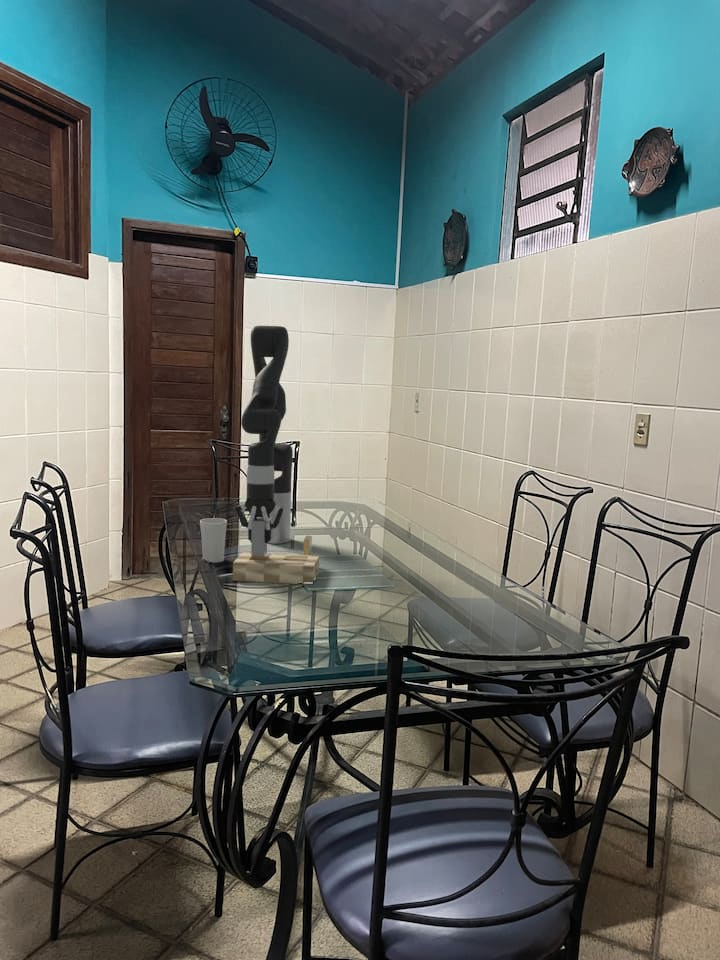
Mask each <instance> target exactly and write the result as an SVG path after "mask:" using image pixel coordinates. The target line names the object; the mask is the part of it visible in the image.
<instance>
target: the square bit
mask: <svg viewBox="0 0 720 960" xmlns="http://www.w3.org/2000/svg"><path fill="white" fill-rule="evenodd" d="M265 537H266V522H265V520H264V519H263V518H261V517H257V518H255V519H254V520H252V524H251V542H250V543H251V545H250V546H251V547H250V548H251V549H250V550H251V551H250V552H251V556H263V557H264V556H265V555H266V553H268V543H265Z"/></svg>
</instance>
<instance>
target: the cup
mask: <svg viewBox="0 0 720 960" xmlns="http://www.w3.org/2000/svg"><path fill="white" fill-rule="evenodd" d="M227 525H228V520H227V519H225V518H218V517H213V518H211V517H210V518H203V519H200V520H199V526H200V528H199V529H200V535H201V536H200V537H201V552H202V560H203V559H205V560H207V561H209V562H208V563H210V562H212V563H214V564H215V563H221V562H224V561H225V549H226V548H225V547H226V536H227V535H226V533H227Z"/></svg>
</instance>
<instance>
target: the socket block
mask: <svg viewBox="0 0 720 960" xmlns="http://www.w3.org/2000/svg"><path fill="white" fill-rule="evenodd" d="M319 566H320V555H312V554H311V555H304V554H291V553H274V552H273V553H271V552H267V553H266V555H265V556H264V557H263V556H251V551H250V552H249V551H243V552H242V553H241V554H240V555H238V557H237V558H236V559H235V560H234V561H233V562H232V581H239V582H257V583H259V582H260V583H275V584H276V583H279V584H293V585H294V584H295V585H299V584H298V583H304V582H313V581H314V579H315V577H316V575H317V573H318V571H319V570H320V569H319ZM319 572H320V571H319ZM318 574H319V573H318ZM317 576H318V575H317ZM316 578H317V577H316ZM315 580H316V579H315ZM314 582H315V581H314Z"/></svg>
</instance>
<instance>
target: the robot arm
mask: <svg viewBox="0 0 720 960" xmlns="http://www.w3.org/2000/svg"><path fill="white" fill-rule="evenodd" d="M287 329H288V328H286V327H285V326H280V325H254V326H253V327H252V328H251V331H250V347H251V348H250V349H251V355H252V363H253V369H254V371H253V372H254V382H253V385H252V393H251V398H250V399H249V402H248V404H247V405H246V407H245V409H244V411H243V413H242V415H241V416H242V417H241V421H240V422H241V427H242V429H243V431H244V432H245V433H247V434H249V435H250V434H251V435H258V437H259V441H258V442H254V443H251V444H249V445H248V447H247V449H248V450H247V471H246V478H245V479H246V500H245V502H244V503H243V504H238V505H237V506H236V507H235V511H236V513H237V517H238V519H239V520H238V521H239V523H240V525H241V527H243V528H247V529H248V530H247V531H248V532H247V538H248V541H250V543H251V524H252V520H254V519H255V518H263V519H264V520H265V522H266V537H265V543H267V544H276V545H279V544H287V543H289V542H291V519H292V518H291V515H292V514H291V511H292V509H291V507H292V469H293V459H294V458H293V456H294V455H293V452H294V451H293V448H292V447H293V446H292V445H291V444H288V443H276V442H277V438H278V433H279V431H280V429H281V424H282V420H283V419H284V417H285V415H286V412H287V401H286V397H287V396H286V392H285V390H284V388H283V386H282V385H281V383H280V381H281V380H280V379H281V376H282V373H283V370H284V367H285V364H286V359H287V355H288V353H289V352H288V351H289V339H290V338H289V333H288V330H287ZM265 358H272V359H271V360H270V362H268V363H267V361H266V359H265ZM275 472H281V474H280V476H278V477H276V478H275ZM246 510H247V511H248V513H249V514H250V515H249V519H247V516H246V514H245V512H246Z"/></svg>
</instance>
